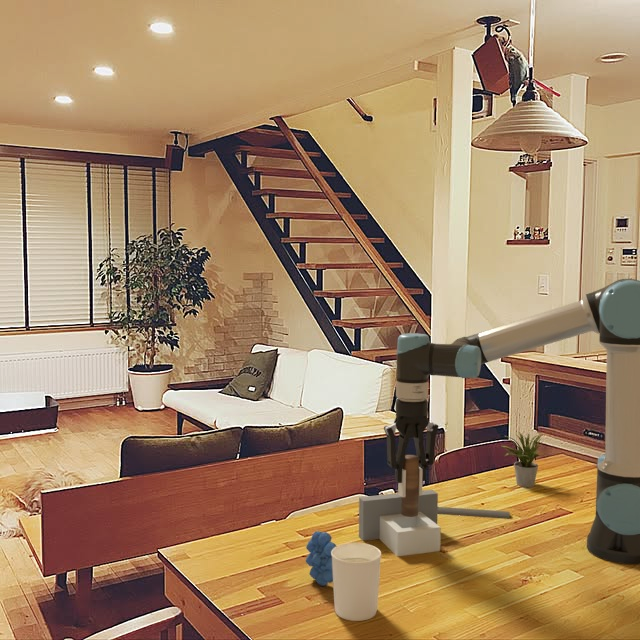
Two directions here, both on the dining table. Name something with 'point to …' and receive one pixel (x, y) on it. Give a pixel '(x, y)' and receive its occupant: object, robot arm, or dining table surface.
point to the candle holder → (356, 580)
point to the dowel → (411, 486)
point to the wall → (390, 511)
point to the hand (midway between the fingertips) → (410, 494)
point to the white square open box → (409, 534)
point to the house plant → (525, 461)
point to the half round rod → (473, 512)
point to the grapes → (320, 557)
